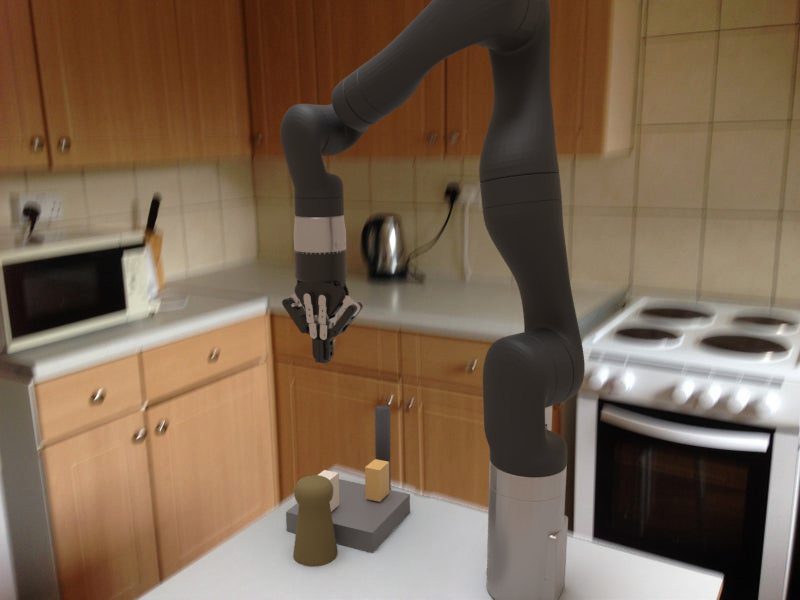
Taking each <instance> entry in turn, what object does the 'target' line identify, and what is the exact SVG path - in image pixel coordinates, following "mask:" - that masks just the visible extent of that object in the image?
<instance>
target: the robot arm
mask: <svg viewBox="0 0 800 600" xmlns="http://www.w3.org/2000/svg"><path fill="white" fill-rule="evenodd" d="M550 5H551V4H550V0H431V1H430V2H429V4H427V6H425V8H423V10H422V11H420V13H419V14H418V15H417V16H416V17H415V18H414V19H413V20H412V21H411V22H410V23H409V24H408V25H407V26H406V27H405V28H404V30H402V31H401V32H400V33H399V34H398V35H397V36H396V37H395V38H394V39H393V40H392V41H390V43H389V44H387V46H385V47H384V48H382V50H381V51H379V52H378V53H377V54H375V55H374V56H373V57H372V58H371V59H368V61H366V62H365V63H363V64H362V65H361V66H359V67H357V69H355V70H353V72H351V73H350V74H348V75H347V76H346V77H345V78H343V79H342V80H341V81H339V82H338V83H337V84H336V86H335V87H334V89H333V90H332V92H331V103H330V104H325V105H324V104H312V103H311V104H310V103H298V104H297V103H296V104H294V105H292V106H291V107H289V108H288V109H287V110H286V112H285V114H284V115H283V118H282V120H281V124H280V133H279V134H280V135H279V136H280V143H281V147H282V151H283V154H284V157H285V161H286V165H287V168H288V172H289V175H290V178H291V181H292V185H293V188H294V189H293V190H294V191H293V195H294V196H293V197H294V224H293V225H294V226H293V248H294V249H293V251H294V277H295V279H296V284H295V287H294V293H292V294H291V295H290V296H289V297H287V298H284V299H282V301H281V305H282V306H283V308H284V309H285V311H286V312H287V314H288V315H289V316H290V318H291V320H292V321H293V323H294V324H295V326H296V328H298V331H300V333H301V334H307V335H309V336H310V338H311V342H312V343H311V345H312V346H311V347H312V349H311V350H312V357H313V359H315V363H318V364H322V365H323V364H328V363H330V362H331V360H332V359H333V358H334V356H335V352H334V351H335V347H334V344H335V342H334V339H335V337H338V336H340V335H342V334H344V333H345V332H346V331H347V330H348V328H349V327H350V326H351V324H352V323H353V322H354V320H355V319H356V317H357V316H358V315H359V314H360V312H361V311H362V310H363V308H364V307H363V303H362V302H358V301H357V302H356V301H355V300H354V299H352V297H350V296H349V295H350V292H349V291H350V290H349V288H348V286H347V283H346V282H347V276H348V275H347V274H348V273H347V272H348V270H347V265H348V264H347V229H346V224H345V223H346V222H345V216H344V215H345V206H344V204H345V202H344V201H345V199H344V197H345V195H344V184H343V180H342V178H341V177H340V176H339V175H336V174H334V173H330V172H328V171H327V169H326V167H325V163H324V161H323V157H331V156H336V155H337V156H338V155H340V154H342V153H344V152H346V151H348V150H349V149H351V148H352V147H353V146H355V144H356V143H357V142H358V141H359V140H360V139H361V138H362V137H363V135H365V133H366V132H367V131H368V129H369V128H371V127H370V126H372V125H374V124H376V123H378V122H379V121H381V120H382V119H384V118H385V117H387V116H388V115H390V114H391V113H393V112H395V111H396V110H398V108H400V107H402V106H403V105H404V104H405V103H406V102H407V101H408V100H410V98H411V97H412V96H413V95H414V94H415V92H417V90H418V88H419V86H420V85H421V83H422V82H423V80H424V79H425V78H426V76H427V75H428V74H429V72H430V71H431V70H433V69H434V67H436V66H437V65H438V64H440V63H441V62H443V60H445V59H447V58H448V57H450V56H453V55H455V54H456V53H458V52H460V51H463V50H465V49H467V48H470V47H472V46H479V47H482V48H486V49H487V50H488V54H489V55H488V56H489V60H490V66H491V67H490V68H491V75H492V82H493V105H492V111H491V112H492V113H491V115H490V119H489V123H488V127H487V131H486V134H485V137H484V141H483V144H482V148H481V153H480V159H479V166H478V167H479V169H478V174H479V176H478V178H479V183H480V184H479V189H480V196H481V197H480V198H481V207H482V215H483V216H482V217H483V222H484V225H485V228H486V230H487V233H488V235H489V237H490V239H491V241H492V243H493V245H494V246H495V248H496V250H497V252H498V253H499V255H500V256H501V257H502V259H503V261H504V262H505V264H506V266H507V267H508V269H509V270H510V272H511V274H512V277H513V278H514V280H515V282H516V285H517V288H518V291H519V294H520V298H521V299H520V300H521V305H522V306H521V307H522V313H523V324H524V325H523V326H524V327H523V328H524V329H523V330H524V331H522V332H520V333H518V332H517V333H515V334H510V335H507V336H502V337H501V338H499V339H497V340H495V341H494V342H493V343H492V344H491V345H490V346H489V348H488V349H487V352H486V355H485V357H484V362H483V365H482V366H483V367H482V398H483V400H482V401H483V403H482V404H483V428H484V429H483V431H484V435H485V439H486V441H487V444H488V448H489V467H488V468H489V470H488V471H489V473H488V476H489V477H488V504H487V505H488V506H487V507H488V508H487V509H488V511H487V513H488V514H487V545H486V547H487V550H486V551H487V553H486V556H487V557H486V573H485V574H486V589H487V592H488V593H489V595H490V596H491V598H493V599H494V600H560V597H561V594H562V592H563V590H564V587H565V585H566V568H567V567H566V564H567V547H568V546H567V545H568V529H569V528H568V527H569V525H568V524H569V517H568V516H567V515H566V514H565V510H566V509H565V508H566V507H565V506H566V504H565V503H566V485H567V468H568V467H567V464H568V445H567V442H566V440H565V439H564V438H563V436H561V435H560V434H558V433H557V432H554V431H552V430H551V431H550V430H547V429H545V408H546V407H549V406H552V407H553V406H556V405H558V404H561V403H564V402H566V401H567V400H570V399H571V398H573V397H574V396H576V395H577V393H578V392H579V391H580V390H581V387H582V386H583V382H584V379H585V378H584V377H585V370H586V368H585V364H586V363H585V354H584V348H583V341H582V338H581V337H582V336H581V332H580V328H579V323H578V318H577V313H576V308H575V303H574V297H573V293H572V287H571V280H570V279H571V278H570V271H569V263H568V262H569V261H568V253H567V246H566V237H565V235H566V234H565V230H564V229H565V228H564V216H563V200H562V198H563V197H562V188H561V175H560V174H561V173H560V168H559V167H560V165H559V160H558V153H557V152H558V151H557V142H556V131H555V130H556V129H555V120H554V119H555V118H554V110H553V109H554V108H553V103H552V92H551V90H552V89H551V6H550ZM341 308H342V309H341ZM340 309H341V312H342V315H340V317H339V318H338V312H339V311H340Z"/></svg>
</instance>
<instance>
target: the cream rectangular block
mask: <svg viewBox="0 0 800 600" xmlns="http://www.w3.org/2000/svg"><path fill="white" fill-rule="evenodd" d="M317 475H320V476H323V477H326V478H328V479H329V480H330V482H331V483H332V486H333V496H332V499H331V501H330V502H329V503H330V509H331V512H332V511H333V510H334V509H335V508H336V507H337V506H338V505H339V479H340V478H339V472H336V471H331V470H326V469H323V470H322V471H321V472H319V473H318V474H317Z"/></svg>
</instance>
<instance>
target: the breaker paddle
mask: <svg viewBox="0 0 800 600" xmlns="http://www.w3.org/2000/svg"><path fill="white" fill-rule="evenodd" d="M364 475H365V476H364V480H365V481H364V484H365V498H366V499H370V500H374V501H379V502H380V501H381V500H382V499H383V498H384V497H385V496H386V495H387V494H389V462H387V461H382V460H377V459H376V458H374V459H373V460H372V461H371V462H370V463H368V464H367V465H366V466H365V467H364Z"/></svg>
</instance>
